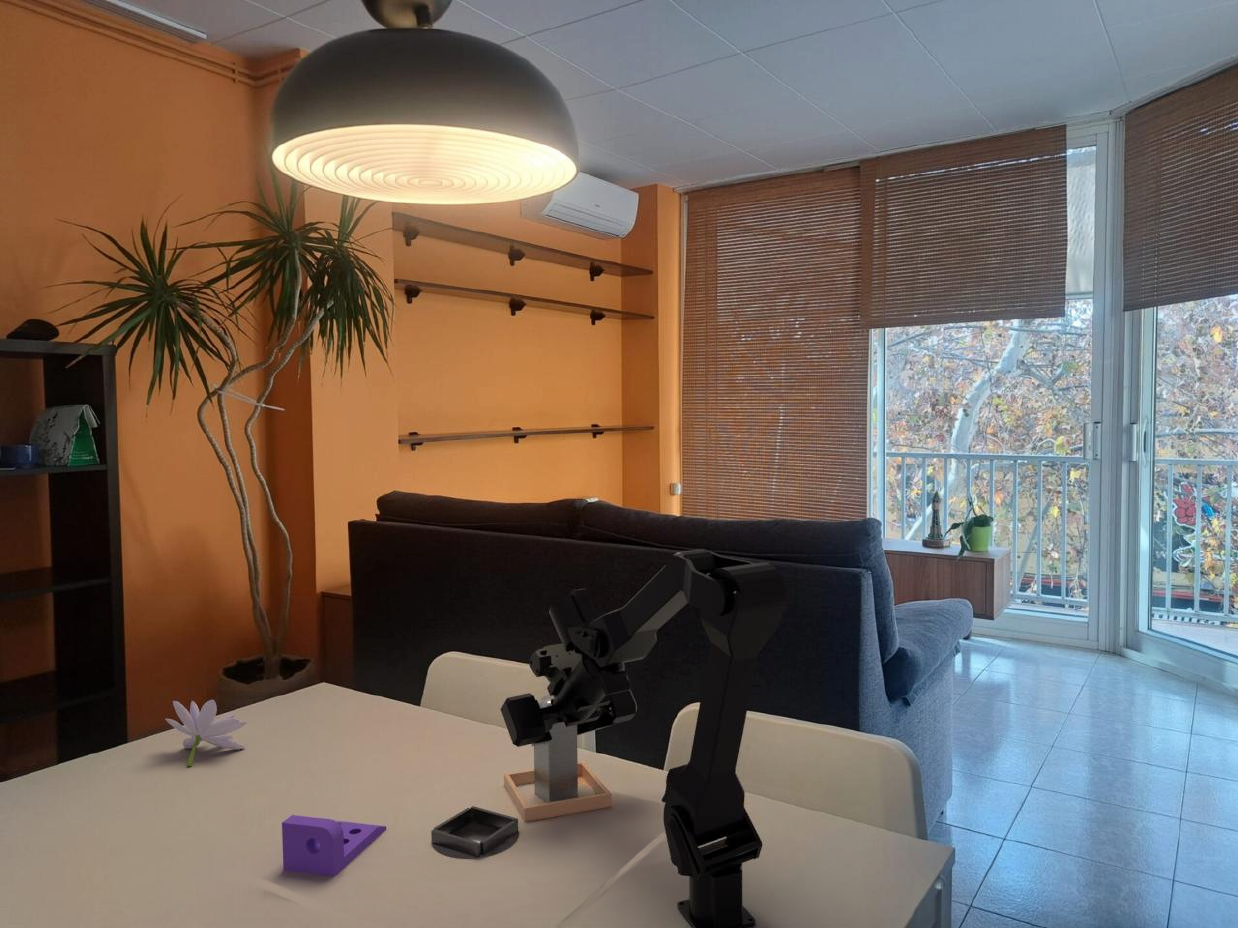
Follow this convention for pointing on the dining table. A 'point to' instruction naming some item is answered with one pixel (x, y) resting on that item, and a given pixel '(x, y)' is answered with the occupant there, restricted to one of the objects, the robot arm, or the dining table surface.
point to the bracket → (324, 843)
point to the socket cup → (475, 834)
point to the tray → (563, 806)
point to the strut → (556, 762)
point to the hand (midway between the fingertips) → (550, 738)
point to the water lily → (205, 727)
